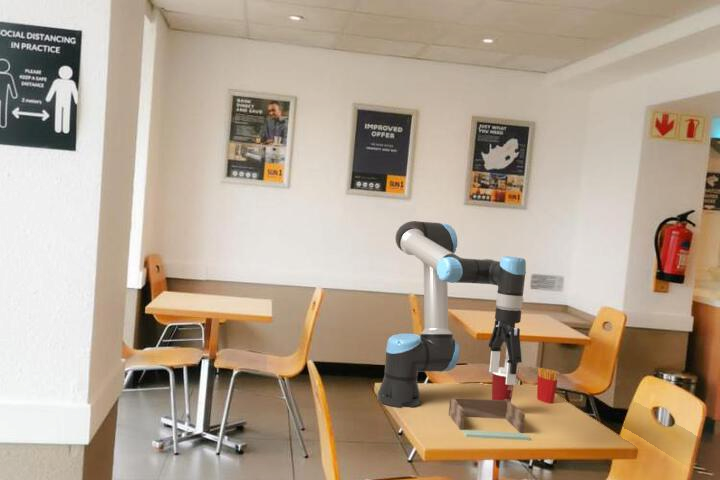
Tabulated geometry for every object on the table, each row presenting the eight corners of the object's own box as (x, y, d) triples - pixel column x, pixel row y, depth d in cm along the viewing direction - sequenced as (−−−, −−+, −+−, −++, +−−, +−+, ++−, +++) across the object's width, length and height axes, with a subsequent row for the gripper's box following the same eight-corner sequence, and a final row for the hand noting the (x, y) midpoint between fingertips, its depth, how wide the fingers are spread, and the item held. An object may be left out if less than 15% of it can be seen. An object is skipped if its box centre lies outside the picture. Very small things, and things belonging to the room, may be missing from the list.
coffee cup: (512, 417, 208) (517, 373, 208) (488, 413, 210) (492, 370, 210) (511, 410, 217) (515, 368, 216) (487, 406, 218) (492, 365, 218)
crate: (448, 418, 201) (450, 397, 201) (507, 421, 203) (509, 400, 203) (459, 433, 187) (461, 410, 187) (522, 436, 189) (524, 414, 189)
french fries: (556, 403, 231) (560, 372, 230) (549, 404, 229) (553, 372, 228) (539, 396, 238) (542, 366, 238) (532, 397, 236) (535, 366, 236)
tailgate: (460, 429, 187) (466, 434, 181) (522, 433, 189) (529, 437, 183) (460, 433, 187) (466, 438, 181) (522, 437, 189) (529, 441, 183)
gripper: (538, 316, 172) (530, 390, 172) (505, 302, 196) (498, 368, 197) (512, 314, 170) (505, 389, 171) (482, 301, 195) (476, 366, 196)
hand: (501, 378), depth 184 cm, fingers open, 13 cm apart
